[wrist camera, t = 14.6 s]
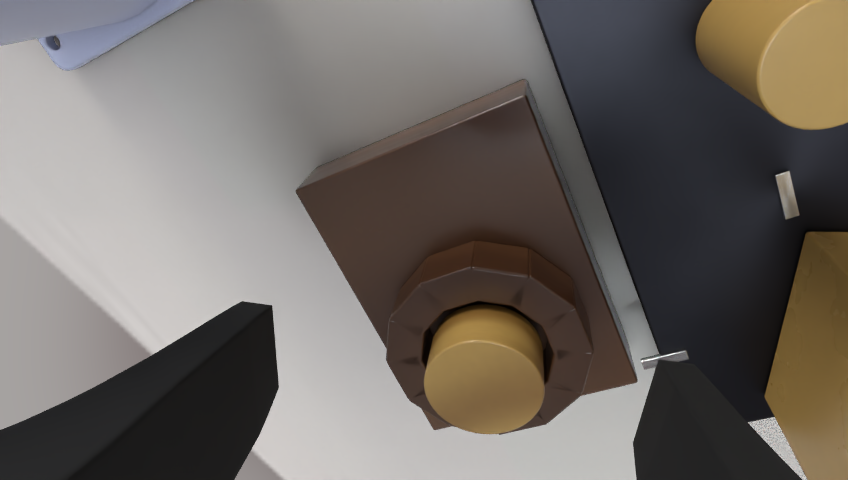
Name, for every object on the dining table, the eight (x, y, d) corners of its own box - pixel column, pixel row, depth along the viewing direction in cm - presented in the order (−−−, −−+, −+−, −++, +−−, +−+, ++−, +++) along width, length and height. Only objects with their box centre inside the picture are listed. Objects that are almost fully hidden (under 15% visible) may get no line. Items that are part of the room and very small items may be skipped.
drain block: (315, 167, 21) (272, 213, 17) (526, 77, 18) (526, 110, 15) (440, 393, 25) (426, 467, 21) (628, 344, 22) (648, 420, 19)
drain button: (414, 321, 19) (403, 359, 17) (519, 289, 18) (517, 326, 16) (458, 402, 20) (452, 445, 18) (558, 377, 19) (562, 420, 17)
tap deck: (502, -23, 17) (498, -16, 14) (901, -219, 14) (994, -259, 11) (665, 410, 23) (684, 474, 21) (966, 345, 20) (1036, 410, 17)
